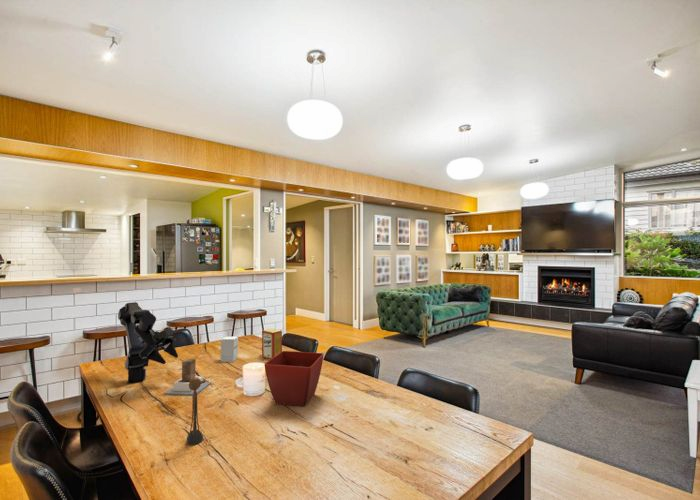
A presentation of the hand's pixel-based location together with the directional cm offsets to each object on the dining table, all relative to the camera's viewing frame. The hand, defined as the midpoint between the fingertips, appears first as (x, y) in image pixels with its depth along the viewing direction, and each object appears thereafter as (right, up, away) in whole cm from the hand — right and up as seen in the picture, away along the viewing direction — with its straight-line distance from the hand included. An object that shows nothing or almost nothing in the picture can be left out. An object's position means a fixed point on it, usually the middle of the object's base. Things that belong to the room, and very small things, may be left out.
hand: (171, 360), depth 155 cm
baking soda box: (+35, -13, +45) cm, 59 cm away
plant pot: (+57, -12, -12) cm, 60 cm away
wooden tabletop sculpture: (+30, -12, -44) cm, 54 cm away
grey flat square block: (+8, -12, -1) cm, 15 cm away
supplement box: (+12, -13, +41) cm, 45 cm away
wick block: (+8, -12, -1) cm, 14 cm away
